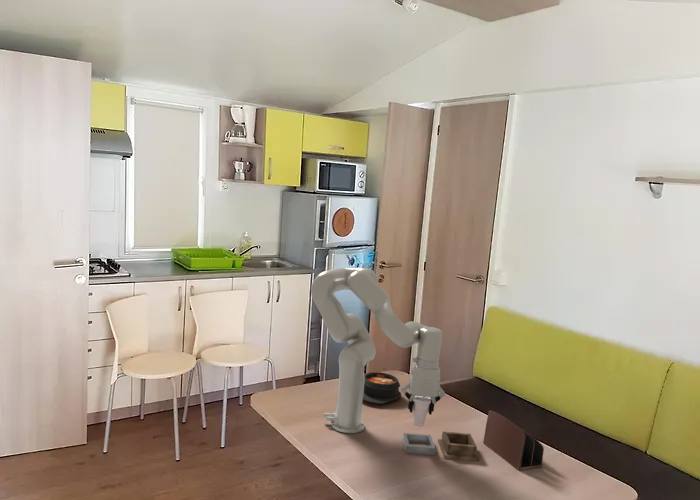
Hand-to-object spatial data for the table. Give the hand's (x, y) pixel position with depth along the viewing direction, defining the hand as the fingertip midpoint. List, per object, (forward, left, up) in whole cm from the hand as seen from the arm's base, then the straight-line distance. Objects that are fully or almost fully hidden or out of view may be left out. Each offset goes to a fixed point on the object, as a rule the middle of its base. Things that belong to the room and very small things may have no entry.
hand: (420, 411), depth 189 cm
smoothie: (0, 0, -5) cm, 5 cm away
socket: (+15, -1, -13) cm, 20 cm away
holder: (+1, 0, -13) cm, 13 cm away
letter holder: (+34, 0, -13) cm, 36 cm away
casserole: (-10, +44, -13) cm, 47 cm away
